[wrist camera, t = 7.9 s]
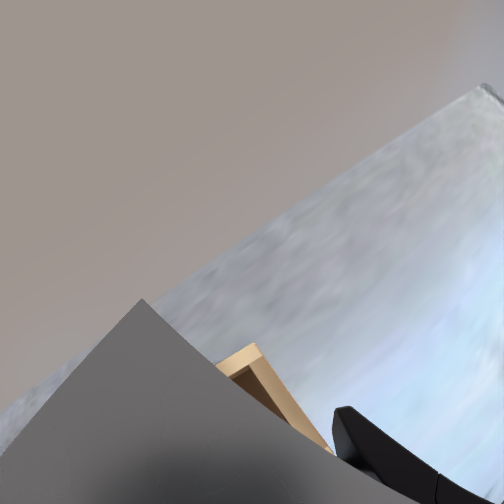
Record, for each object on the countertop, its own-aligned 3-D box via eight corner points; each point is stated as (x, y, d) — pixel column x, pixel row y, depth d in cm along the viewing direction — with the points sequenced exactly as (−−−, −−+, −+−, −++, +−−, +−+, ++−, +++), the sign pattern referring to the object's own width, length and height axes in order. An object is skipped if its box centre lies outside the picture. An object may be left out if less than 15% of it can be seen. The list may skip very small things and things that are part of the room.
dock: (213, 518, 15) (206, 533, 12) (141, 409, 19) (124, 408, 16) (331, 451, 17) (343, 458, 14) (255, 345, 21) (254, 335, 18)
